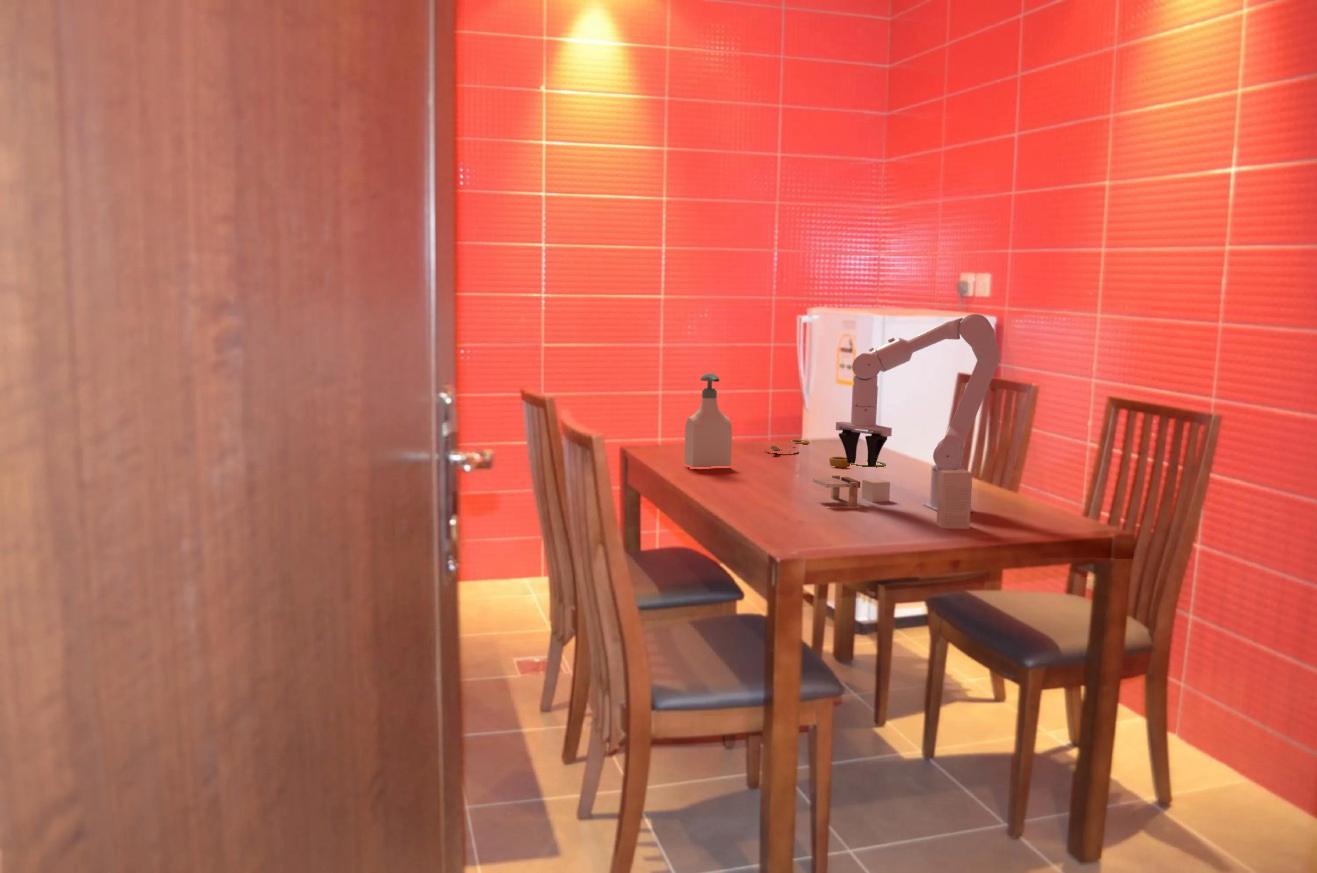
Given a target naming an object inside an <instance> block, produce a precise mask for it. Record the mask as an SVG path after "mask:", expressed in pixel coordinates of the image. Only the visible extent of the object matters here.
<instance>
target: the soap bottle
mask: <svg viewBox="0 0 1317 873" xmlns="http://www.w3.org/2000/svg"><path fill="white" fill-rule="evenodd" d="M700 381H702V382H703V381H704V382H707V387H705V388H703V389H702V392H701V402H700V406H699V408H698V409H697V411H696V412H695V413H693V414H692V415H691V416H689V417H687V419H686V422H685V426H684V457H683V458H684V462H683V463H686V464H687V465H690V466H691V467H711V466H731V467H732V443H733V442H732V440H733V439H732V438H733V427H732V421H731V419H730V418H729V416H726V415H725V414H724V413H723V412H722V411H721V410H720V408H719V406H718V399H717V393H718V392H717V390H716V388H713V382H714V383H715V382H717V383H719V382H720V378H719V376H718V375H716V374H714V373H711V372H708V373H705V374H703V375H702V376H701V377H700Z"/></svg>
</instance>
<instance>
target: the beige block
mask: <svg viewBox="0 0 1317 873" xmlns="http://www.w3.org/2000/svg"><path fill="white" fill-rule="evenodd" d="M861 482H862V483H861V499H862V500H866V501H868V502H871V503H877V502H889V501H890V492H891V491H890V490H891V481H888V480H884V479H880V478H871V479H866V478H865V479H862V481H861Z"/></svg>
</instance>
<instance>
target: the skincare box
mask: <svg viewBox="0 0 1317 873" xmlns="http://www.w3.org/2000/svg"><path fill="white" fill-rule="evenodd" d="M972 482H973V473H972V472H971V471H968V470H966V469H965V470H938V495H937V510H936V525H937V526H938V527H939V528H940V529H947V530H948V529H949V530H950V529H954V530H956V529H962V530H964V529H965V530H966V529H967V530H970V529H971V512H970V510H971V509H972V506H971V505H972V490H971V489H972V485H973V484H972Z"/></svg>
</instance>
